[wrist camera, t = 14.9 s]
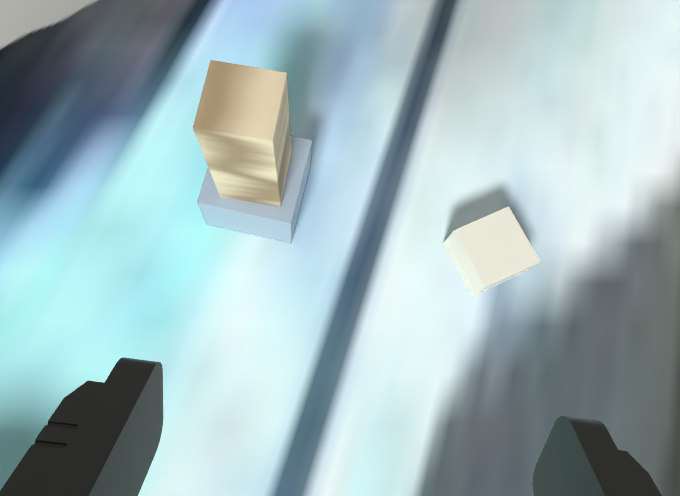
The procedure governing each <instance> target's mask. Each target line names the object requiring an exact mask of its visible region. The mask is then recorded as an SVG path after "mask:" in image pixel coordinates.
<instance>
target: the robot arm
mask: <svg viewBox="0 0 680 496" xmlns="http://www.w3.org/2000/svg"><path fill="white" fill-rule="evenodd" d="M162 426H163V370H162V364H161V363H160V362H154V361H146V360H138V359H131V358H121V359H120V360H119V361H118V362H117V363H116V365H115V367H114V368H113V370H112V372H111V373H110V375H109V376H108V378H107V380H106V381H105V383H102V382H94V381H87V382H85V383H84V384H83V385H81V386H80V387H79V388H77V389H76V390H75V391H73V392H72V393H70V394H69V395H68V396H66V397H65V398H64V399H63V400H62V402H61V403H60V405H59V406H58V408H57V409H56V410H55V412H54V413H53V415H52V416H51V418H50V419H49V421H48V425H47V426H45V427H44V428H43V429H42V431H41V432H40V434H39V435H38V437H37V438H36V440H35V444H34V445H32V446H31V447H30V448H29V450H28V451H27V453H26V454H25V456H24V457H23V459H22V460H21V462H20V463H19V464H18V466H17V467H16V469H15V470H14V472H13V473H12V475H11V476H10V478H9V479H8V481H7V482H6V483H5V485H4V486H3V488H2V489H1V491H0V496H138V494H139V491H140V489H141V487H142V484H143V482H144V479H145V477H146V475H147V472H148V470H149V467H150V465H151V463H152V460H153V458H154V455H155V453H156V450H157V448H158V444H159V441H160V437H161V432H162ZM533 492H534V496H662V495H661V494H660V492H659V490H658V489H657V487H656V485H655V483H654V482H653V480H652V478H651V476H650V475H649V473H648V472H647V471H646V470H645V469H644V468H643V467H642V466H641V465H640V464H639V463H638V462H637V461H636V460H635V459H634V458H633V457H632V456H631V455H630V454H629V453H628V452H627V451H622V450H618V449H617V447H616V445H615V443H614V441H613V440H612V438H611V436H610V434H609V432H608V430H607V428H606V427H605V425H604V424H603V423H602V422H600V421H597V420H589V419H582V418H574V417H566V416H561V417H559V418H558V419H557V420H556V422H555V423H554V426H553V428H552V430H551V432H550V435H549V437H548V439H547V442H546V444H545V446H544V448H543V451H542V453H541V455H540V457H539V460H538V462H537V464H536V467H535V470H534V475H533Z"/></svg>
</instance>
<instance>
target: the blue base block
mask: <svg viewBox="0 0 680 496" xmlns="http://www.w3.org/2000/svg"><path fill="white" fill-rule="evenodd" d="M311 147H312V140H308V139H304V138H299V137H295V136H291V157H290V162H289V167H288V172H287V178H286V183H285V188H284V193H283V198H282V203H281V207H279V206H273V205H267V204H261V203H255V202H248V201H242V200H236V199H230V198H224V197H220V195H219V193H218V190H217V188H216V185H215V183H214V180H213V178H212V175H211V173H210V170H209V167H208V169H207V172H206V175H205V178H204V182H203V185H202V188H201V191H200V194H199V197H198V201H197V204H198V206H199V208H200V210H201V213H202V215H203V217H204V219H205V221H206V224H207V225H210V226H215V227H219V228H224V229H228V230H233V231H237V232H242V233H246V234H251V235H255V236H259V237H264V238H268V239H273V240H277V241H282V242H286V243H291V242H292V238H293V234H294V230H295V226H296V222H297V218H298V214H299V210H300V206H301V202H302V198H303V194H304V190H305V186H306V182H307V178H308V174H309V170H310V162H311Z"/></svg>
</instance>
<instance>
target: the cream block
mask: <svg viewBox="0 0 680 496" xmlns="http://www.w3.org/2000/svg"><path fill="white" fill-rule="evenodd" d="M444 245H445V247H446V249H447V251H448V253H449V255H450V257H451V258H452V260H453V262H454V264H455V266H456V268H457V270H458V271H459V273H460V275H461V277H462V279H463V281H464V283H465V285H466V286H467V288H468V290H469V292H470V294H471V296H475V295H477V294H479V293H481V292H483V291H485V290H487V289H490V288H492V287H494V286H496V285H498V284H500V283H502V282H504V281H507V280H509V279H511V278H513V277H515V276H517V275H519V274H522V273H524V272H525V271H527V270H528V269H530V268H532V267H533V266H535V265H536V264H538V263H540V262H541V261H540V259H539V258H538V256H537V254H536V253H535V251H534V249H533V247H532V246H531V244H530V242H529V240H528V239H527V237H526V235H525V234H524V232H523V230H522V228H521V227H520V225H519V223H518V221H517V220H516V218H515V216H514V215H513V213H512V211H511V209H510V208H509V206H508V207H506V208H504V209H501V210H499V211H497V212H495V213H492V214H490V215H488V216H485V217H483V218H481V219H479V220H476V221H474V222H472V223H469V224H467V225H465V226H463V227H460V228H458V229H456V230H454V231H453V232H452V233H451V235H450V236H449V237H448V238H447V239H446V240H445V242H444Z"/></svg>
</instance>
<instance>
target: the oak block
mask: <svg viewBox="0 0 680 496" xmlns="http://www.w3.org/2000/svg"><path fill="white" fill-rule="evenodd" d="M193 129H194V132H195V134H196V137H197V139H198V142H199V145H200V147H201V150H202V152H203V155H204V157H205V160H206V162H207V165H208V167H209V170H210V173H211V175H212V178H213V180H214V183H215V185H216V188H217V190H218V193H219V195H220V197H224V198H230V199H236V200H242V201H248V202H255V203H261V204H267V205H273V206H279V207H281V203H282V198H283V193H284V188H285V183H286V178H287V172H288V167H289V162H290V157H291V135H290V117H289V99H288V81H287V73H286V72H280V71H274V70H268V69H262V68H256V67H250V66H244V65H237V64H231V63H225V62H219V61H213V60H211V61H210V64H209V68H208V72H207V76H206V80H205V83H204V87H203V91H202V95H201V99H200V102H199V106H198V110H197V114H196V118H195V121H194V125H193Z"/></svg>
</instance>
